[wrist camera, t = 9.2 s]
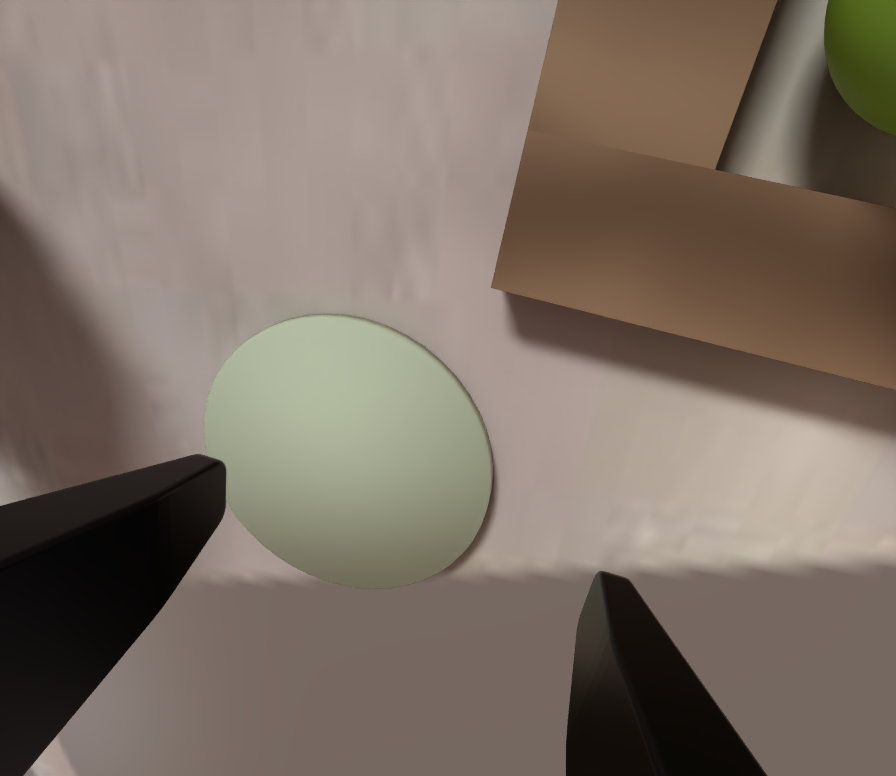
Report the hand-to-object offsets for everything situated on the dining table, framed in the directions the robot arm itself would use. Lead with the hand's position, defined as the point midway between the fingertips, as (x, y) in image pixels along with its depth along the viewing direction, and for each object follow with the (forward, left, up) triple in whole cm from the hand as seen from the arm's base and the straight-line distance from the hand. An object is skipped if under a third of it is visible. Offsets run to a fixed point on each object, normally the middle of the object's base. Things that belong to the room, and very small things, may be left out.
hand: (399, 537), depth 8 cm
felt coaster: (-6, +4, -11) cm, 13 cm away
